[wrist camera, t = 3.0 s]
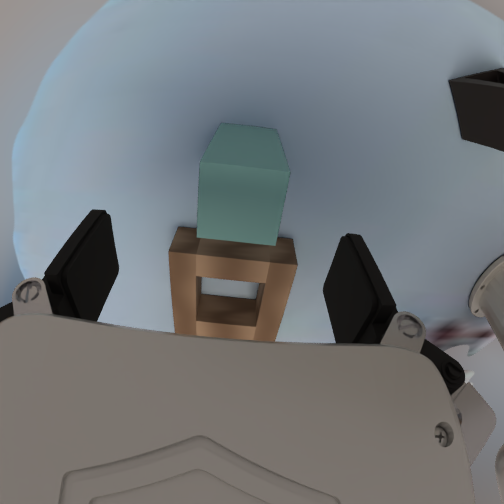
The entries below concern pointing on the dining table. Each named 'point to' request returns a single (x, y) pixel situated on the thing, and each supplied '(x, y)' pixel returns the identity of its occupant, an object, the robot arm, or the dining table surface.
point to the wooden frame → (231, 268)
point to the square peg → (242, 185)
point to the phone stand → (481, 107)
